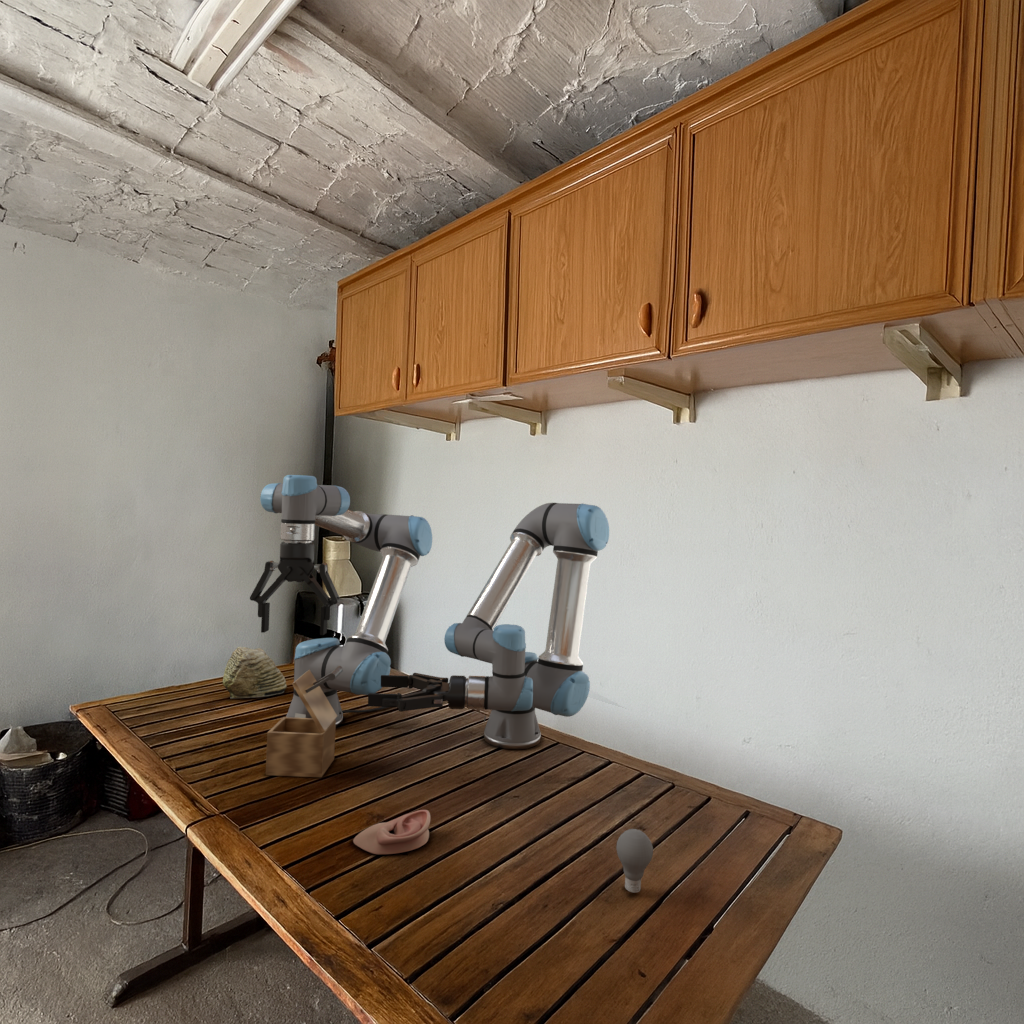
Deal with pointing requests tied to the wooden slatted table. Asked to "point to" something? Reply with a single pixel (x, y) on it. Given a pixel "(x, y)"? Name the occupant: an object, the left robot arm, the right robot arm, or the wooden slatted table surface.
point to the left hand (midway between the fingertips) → (294, 632)
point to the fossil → (252, 674)
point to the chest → (299, 748)
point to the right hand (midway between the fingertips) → (374, 689)
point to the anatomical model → (396, 834)
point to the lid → (317, 697)
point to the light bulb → (634, 857)
